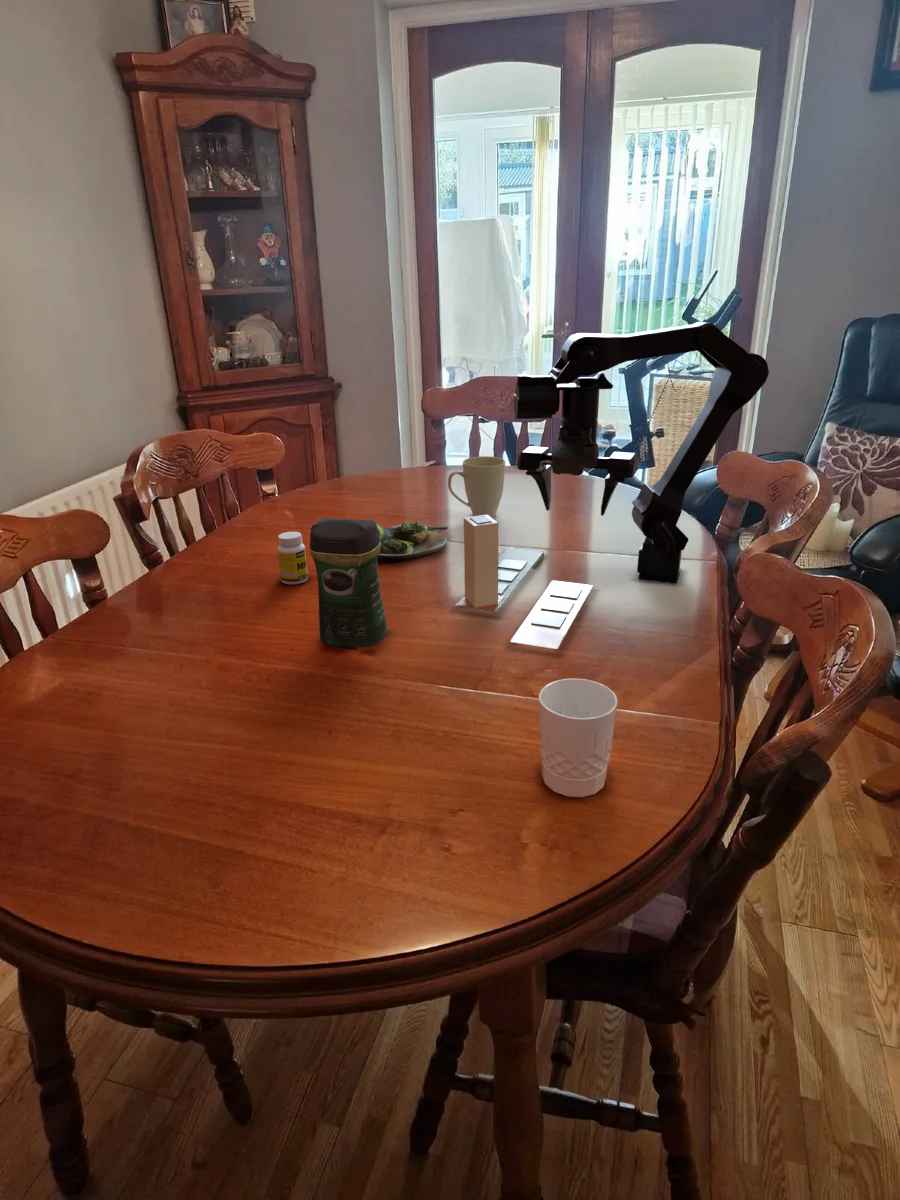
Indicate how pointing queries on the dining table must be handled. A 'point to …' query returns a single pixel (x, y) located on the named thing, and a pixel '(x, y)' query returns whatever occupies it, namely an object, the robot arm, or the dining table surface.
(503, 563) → the strip
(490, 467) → the mug
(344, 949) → the dining table surface
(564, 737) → the white cup
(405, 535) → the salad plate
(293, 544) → the supplement bottle
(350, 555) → the coffee jar
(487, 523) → the cream tall square block
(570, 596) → the strip
